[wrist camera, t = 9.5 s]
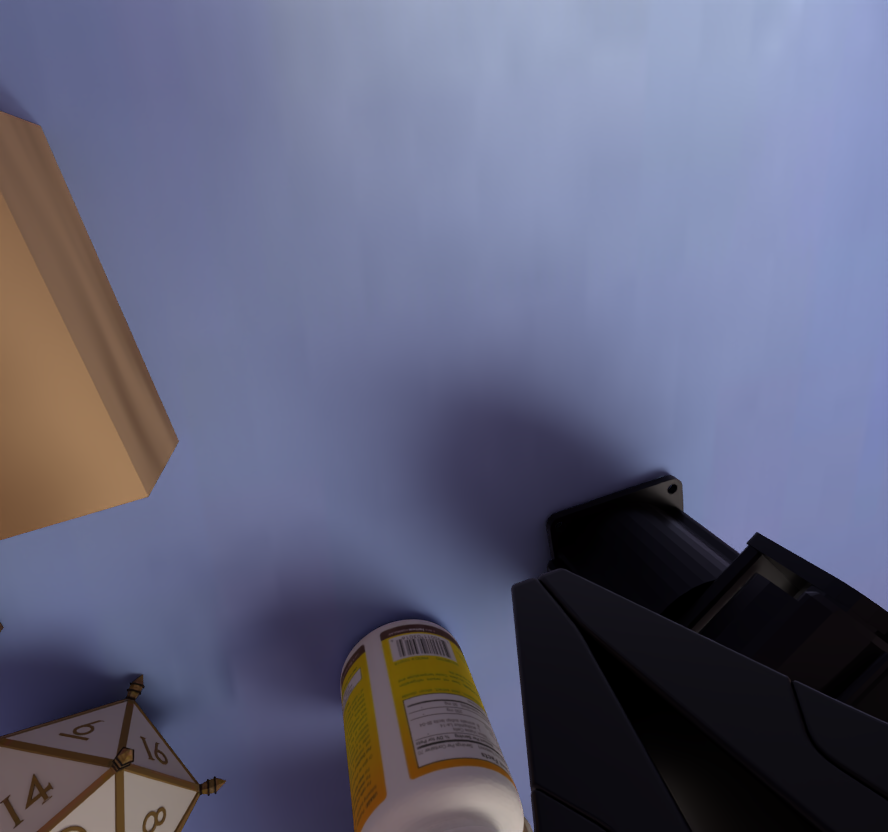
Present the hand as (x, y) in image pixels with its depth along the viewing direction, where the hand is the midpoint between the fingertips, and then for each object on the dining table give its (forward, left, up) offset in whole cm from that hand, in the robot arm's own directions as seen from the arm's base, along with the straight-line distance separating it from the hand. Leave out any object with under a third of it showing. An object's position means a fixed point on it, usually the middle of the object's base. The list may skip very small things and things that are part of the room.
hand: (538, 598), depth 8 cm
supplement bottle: (+3, +13, -13) cm, 19 cm away
